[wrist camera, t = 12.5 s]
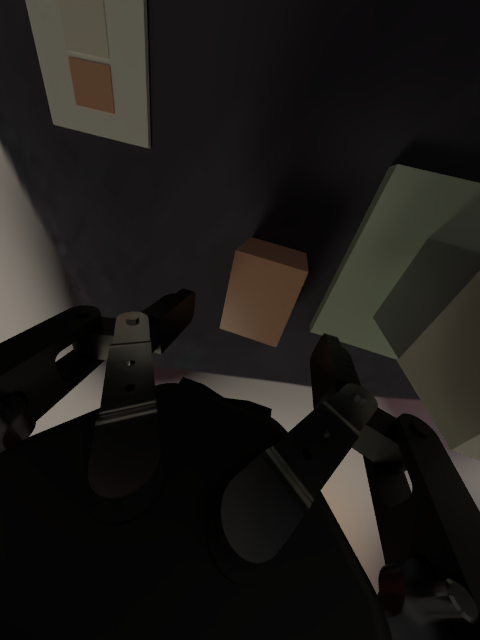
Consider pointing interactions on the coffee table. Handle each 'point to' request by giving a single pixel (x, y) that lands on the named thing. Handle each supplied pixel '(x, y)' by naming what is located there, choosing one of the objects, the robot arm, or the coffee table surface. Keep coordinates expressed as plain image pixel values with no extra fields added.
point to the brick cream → (451, 370)
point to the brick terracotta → (263, 290)
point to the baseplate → (404, 261)
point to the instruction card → (95, 65)
